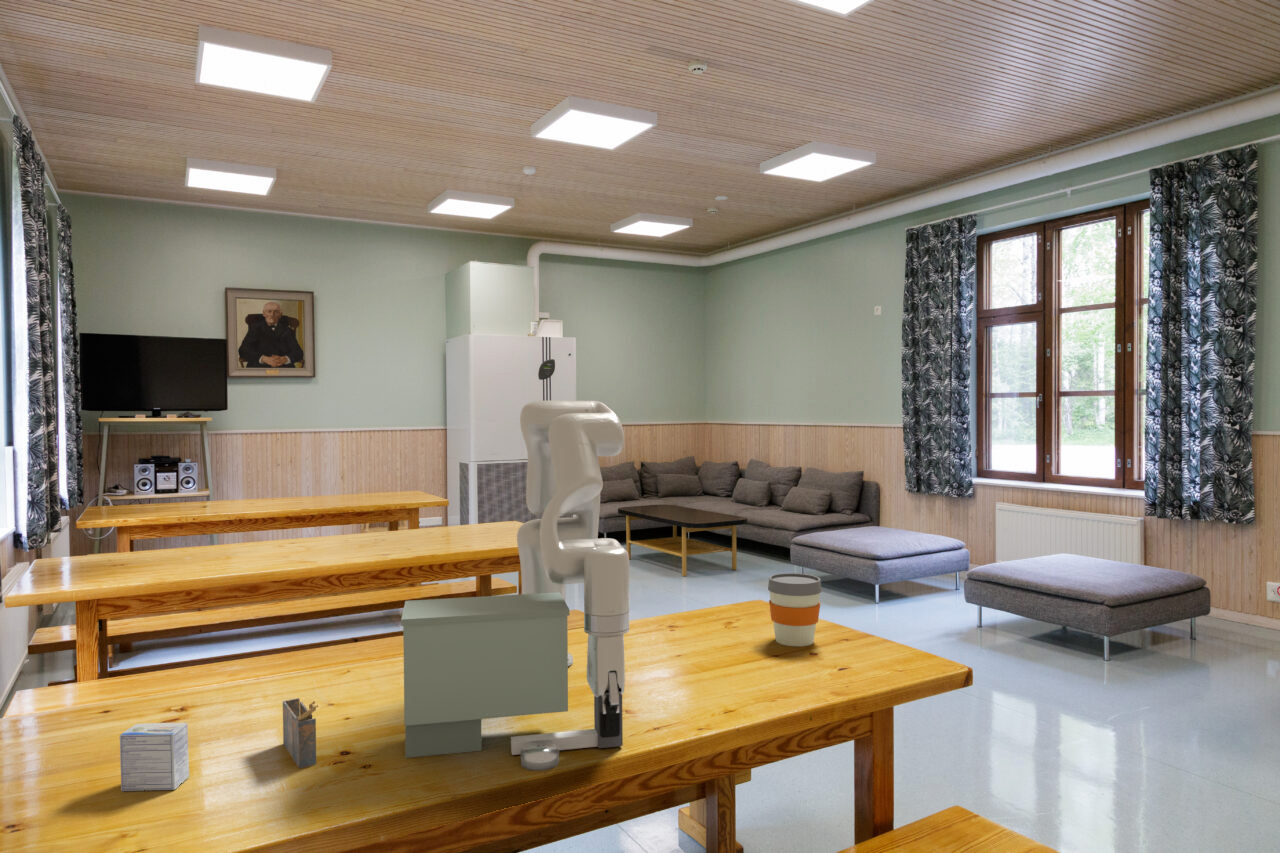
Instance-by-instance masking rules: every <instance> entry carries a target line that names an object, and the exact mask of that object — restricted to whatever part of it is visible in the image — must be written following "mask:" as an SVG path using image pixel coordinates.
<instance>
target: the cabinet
mask: <svg viewBox="0 0 1280 853" xmlns="http://www.w3.org/2000/svg"><path fill="white" fill-rule="evenodd" d="M569 616H570V608H569V606H568V605H567V603H565V601H564V599H563V597H562V596H561V594H560V592H557V593H539V594H522V593H521V594H505V595H490V596H489V595H488V596H485V595H484V596H469V597H453V598H452V597H450V598H434V599H419V600H418V599H416V600H415V599H414V600H405V602H404V606H403V610H402V614H401V619H400V626H402V628H403V629H402V630H403V632H402V633H403V635H402V636H403V638H402V639H403V640H402V641H403V642H402V643H403V706H404V707H403V709H404V713H403V714H404V717H403V718H404V730H405V732H404V733H405V734H404V736H405V758H406V759H408V758H409V759H410V758H419V757H431V756H437V755H438V756H439V755H440V756H441V755H449V754H459V753H471V752H481V751H482V749H483V748H482V737H483V736H482V720H484V719H498V718H507V717H519V716H528V715H529V716H531V715H542V714H553V713H565V712H569V680H568V679H569V675H568V674H569V668H568V667H569V666H568V653H569V650H568V649H569V646H568V645H569V644H568V635H569V634H568V617H569Z"/></svg>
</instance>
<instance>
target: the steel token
mask: <svg viewBox="0 0 1280 853" xmlns="http://www.w3.org/2000/svg"><path fill="white" fill-rule="evenodd" d="M559 762H560V750H559V746H558V744H556V743H554V742H551V741H545V740H539V741H532V742H529V743H526V744H524V745H523V746H522V747H521V754H520V766H521V767H522V768H524V769H525V770H527V771H533V772H542V771H548V770H552V769H554V768H555V767H557V766H558V765H559V764H560V763H559Z"/></svg>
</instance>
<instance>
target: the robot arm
mask: <svg viewBox="0 0 1280 853" xmlns="http://www.w3.org/2000/svg"><path fill="white" fill-rule="evenodd" d="M519 421H520V424H519V426H520V429H521V433H522V437H523V440H524V443H525V446H526V451H527V466H526V468H527V469H526V487H525V488H526V489H525V490H526V491H525V499H526V501H525V502H526V506H527V509H528V511H529V512H530V513H531V514H533V515H536V516H540V517H541V516H542V517H541V518H538V519H537V518H536V519H532V520H528V521H526V522H523V524H521V525H520V526H519V528H518V531H517V534H516V543H517V551H518V556H519V561H520V562H519V564H520V574H521V579H520V580H521V594H539V593H557V592H560V594H561V596H562V597H563V599H564V601H565V603H566V600H567V599H566V598H567V597H566V593H567V592H566V589H567V588H566V585H574V584H575V585H576V584H583V631H584V633H585V634H587V635H588V637H587V651H586V652H587V654H586V656H587V658H586V681H587V684H588V686H589V689H590V690H591V692H592V694H593V696H594V695H595V696H596V697H599V695H601V704H602V712H601V713H600V736H601V737H602V738H606V737H616V736H619V735H620V712H619V695H622V696H623V694H624V693H625V685H626V684H625V682H626V680H625V679H626V675H625V674H626V670H625V669H626V668H625V667H626V666H625V643H624V642H625V640H624V638H625V637H624V635H625V634H627V633H629V632H630V556H629V552H628V550H627V549H625V548H624V547H623V546H622V545H621V543H620V542H619V541H618V540H617V539H615V538H610V537H609V538H608V537H607V538H606V537H605V538H604V537H601V538H598V536H599V523H600V512H601V511H600V509H601V492H602V490H603V486H604V482H603V477H602V472H601V468H600V462H599V458H598V457H615V456H618V455H619V454H621V452H622V451H623V448H624V446H625V431H624V427H623V424H622V422H621V420H620V418H619V416H618V414H616V413H615V411H613V410H612V409H611V408H609V407H608V406H607V405H606V404H605V403H603V402H601V401H597V400H536V401H530V402H528V403H526V404H525V405H523V407H522V409H521V412H520V417H519ZM571 515H573V516H574V515H575V516H574V517H562V516H571ZM566 604H567V603H566ZM573 662H574V656H573V654H571V653H570V652H568V667H570V666H571V665H572V664H573ZM605 690H609V693H604V692H605ZM606 698H609V701H607V702H606Z"/></svg>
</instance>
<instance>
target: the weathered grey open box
mask: <svg viewBox="0 0 1280 853" xmlns="http://www.w3.org/2000/svg"><path fill="white" fill-rule="evenodd" d="M315 704H316V701H315V700H314V701H312V702H311V703H309V704H308V708H307V706H306V705H305V704H304V702H303V701H300V697H298V698H291V699H287V700H283V701H282V731H283V732H282V734H283V735H282V736H283V737H282V739H283V741H282V742H283V746H284V747H285V749H286V750H287V752H288V753H289V754H290V756H291V758H292V759H293V761H294V763H295V764H296V766H297V767H298V769H301V768H306V767H310V766H315V765H317V721H316V720H317V719H316V718H315V717H314V718H313V714H312V713H314V712H316V710H317V709H316V708H318V707H319V705H318V704H317V705H315Z"/></svg>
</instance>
